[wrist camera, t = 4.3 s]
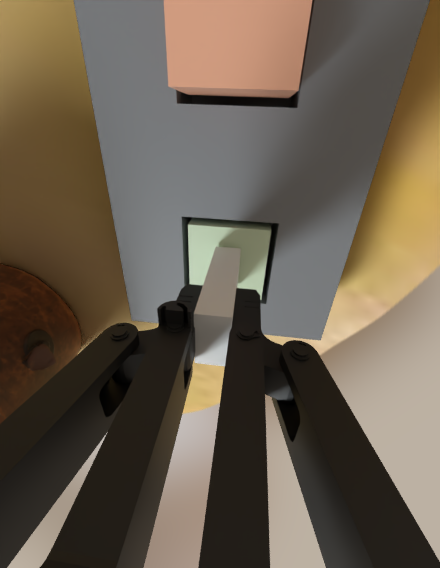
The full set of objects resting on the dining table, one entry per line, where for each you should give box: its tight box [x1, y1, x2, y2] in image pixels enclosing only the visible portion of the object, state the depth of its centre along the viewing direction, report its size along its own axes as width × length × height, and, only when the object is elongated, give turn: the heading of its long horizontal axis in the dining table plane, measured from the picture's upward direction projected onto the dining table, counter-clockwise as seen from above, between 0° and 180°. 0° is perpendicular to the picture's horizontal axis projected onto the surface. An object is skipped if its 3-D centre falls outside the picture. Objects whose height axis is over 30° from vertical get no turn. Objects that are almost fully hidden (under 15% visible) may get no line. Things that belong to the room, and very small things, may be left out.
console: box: [74, 0, 430, 340], centre depth 13 cm, size 33×14×4 cm, turn 178°
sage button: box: [188, 217, 271, 300], centre depth 18 cm, size 5×5×4 cm
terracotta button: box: [164, 0, 312, 98], centre depth 10 cm, size 5×5×4 cm
